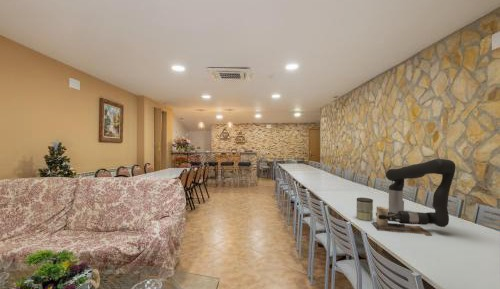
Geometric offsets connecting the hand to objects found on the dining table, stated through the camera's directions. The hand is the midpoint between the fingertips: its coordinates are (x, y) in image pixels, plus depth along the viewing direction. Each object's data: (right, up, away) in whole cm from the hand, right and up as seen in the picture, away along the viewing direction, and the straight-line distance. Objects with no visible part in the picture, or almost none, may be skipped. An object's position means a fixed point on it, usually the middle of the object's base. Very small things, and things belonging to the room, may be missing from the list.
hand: (377, 215), depth 152 cm
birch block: (+2, -7, 0) cm, 7 cm away
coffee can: (0, -8, +16) cm, 18 cm away
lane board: (+12, -8, -2) cm, 14 cm away
